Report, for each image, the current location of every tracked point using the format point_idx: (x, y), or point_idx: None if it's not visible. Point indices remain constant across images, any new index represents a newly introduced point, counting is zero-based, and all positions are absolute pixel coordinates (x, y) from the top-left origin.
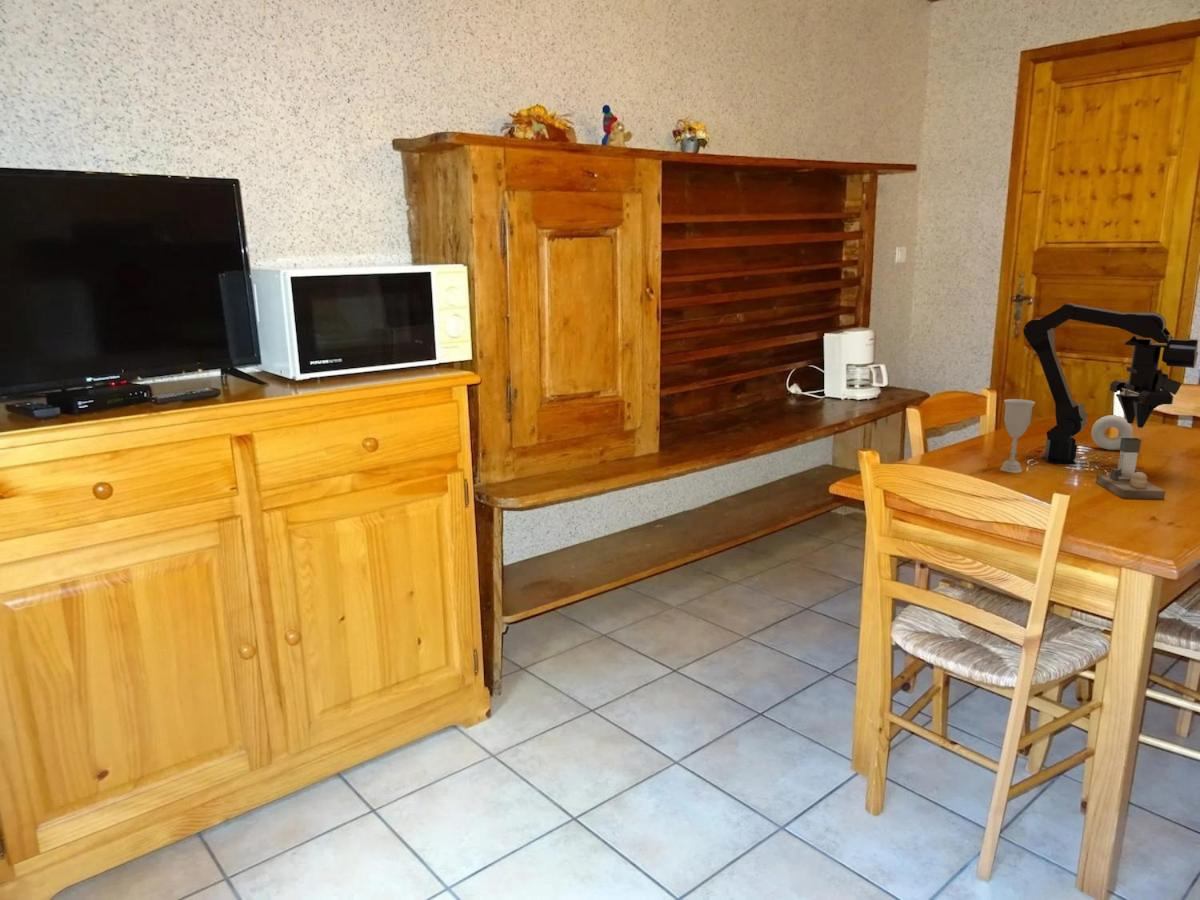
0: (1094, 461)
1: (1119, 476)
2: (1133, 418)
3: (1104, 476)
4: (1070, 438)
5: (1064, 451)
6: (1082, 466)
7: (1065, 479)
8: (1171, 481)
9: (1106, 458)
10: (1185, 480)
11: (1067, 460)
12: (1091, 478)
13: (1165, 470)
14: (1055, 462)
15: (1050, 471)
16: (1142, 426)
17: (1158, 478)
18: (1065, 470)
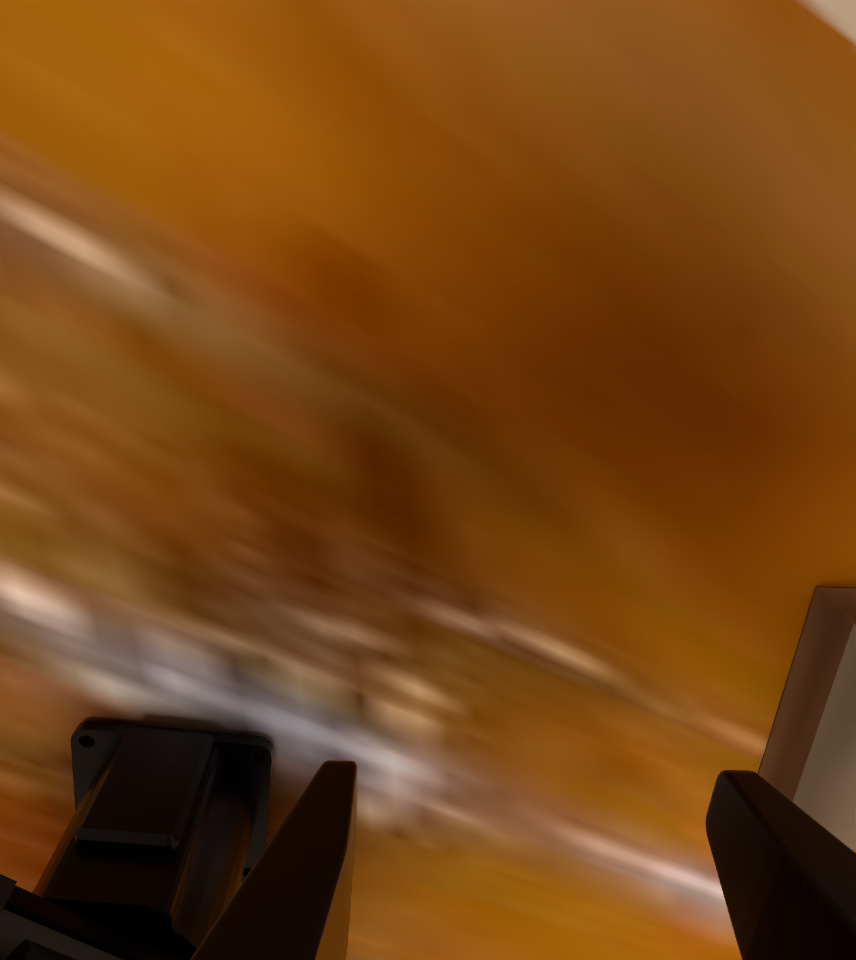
0: (150, 565)
1: (854, 744)
2: (347, 847)
3: (830, 827)
4: (161, 956)
5: (237, 882)
6: (332, 713)
7: (659, 914)
8: (820, 253)
9: (4, 411)
10: (815, 77)
11: (246, 790)
12: (653, 784)
13: (431, 47)
14: (265, 845)
15: (476, 923)
16: (767, 798)
17: (712, 316)
18: (450, 846)
